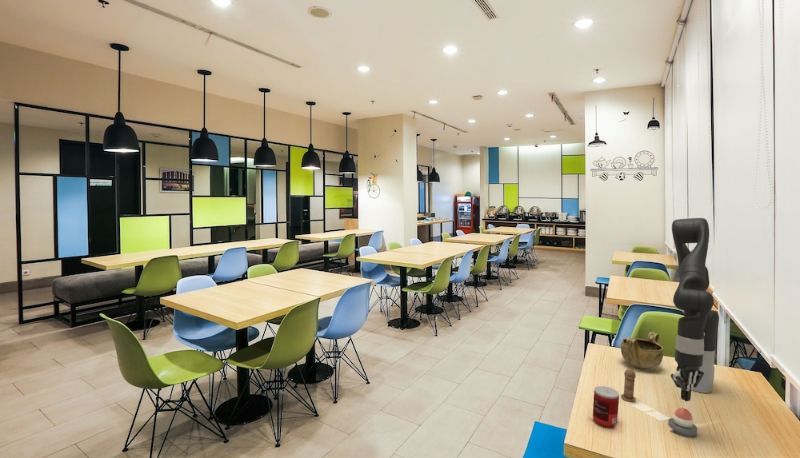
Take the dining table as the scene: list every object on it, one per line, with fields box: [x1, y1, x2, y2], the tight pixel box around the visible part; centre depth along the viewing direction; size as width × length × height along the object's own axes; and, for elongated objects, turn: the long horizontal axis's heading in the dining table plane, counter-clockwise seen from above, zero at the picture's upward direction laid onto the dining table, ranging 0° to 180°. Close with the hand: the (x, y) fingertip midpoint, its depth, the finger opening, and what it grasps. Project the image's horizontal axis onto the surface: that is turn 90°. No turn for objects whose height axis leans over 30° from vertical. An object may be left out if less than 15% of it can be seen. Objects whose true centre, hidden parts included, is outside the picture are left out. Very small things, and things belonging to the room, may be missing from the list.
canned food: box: [592, 385, 620, 429], centre depth 138 cm, size 8×8×11 cm
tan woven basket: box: [620, 331, 664, 371], centre depth 185 cm, size 22×17×15 cm
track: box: [619, 395, 671, 422], centre depth 147 cm, size 8×18×1 cm, turn 20°
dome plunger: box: [673, 407, 694, 428], centre depth 134 cm, size 5×5×5 cm
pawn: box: [620, 369, 637, 404], centre depth 152 cm, size 5×5×12 cm
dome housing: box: [667, 417, 698, 439], centre depth 134 cm, size 8×8×2 cm
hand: (685, 399), depth 133 cm, fingers closed
